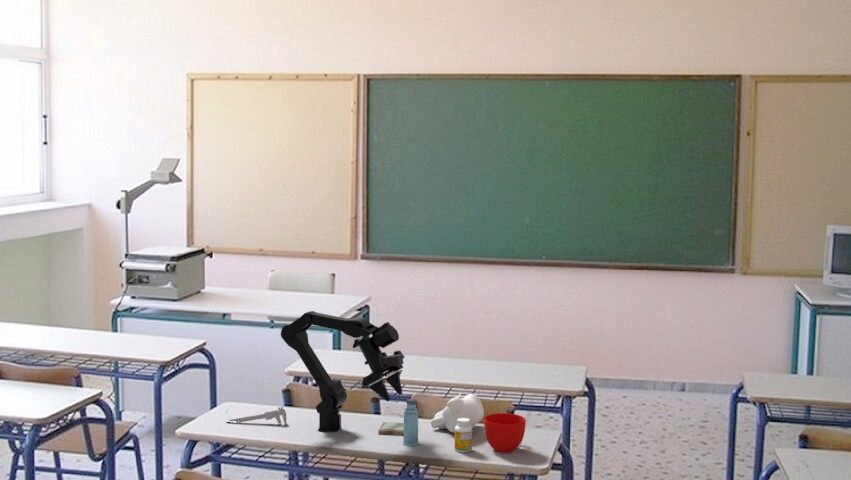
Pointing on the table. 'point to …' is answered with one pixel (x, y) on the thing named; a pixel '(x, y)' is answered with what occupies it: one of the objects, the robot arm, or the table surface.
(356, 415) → the table surface
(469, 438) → the supplement bottle
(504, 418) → the ceramic cup
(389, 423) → the picture frame
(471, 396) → the fox head
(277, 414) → the caliper
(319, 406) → the robot arm
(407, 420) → the water bottle
